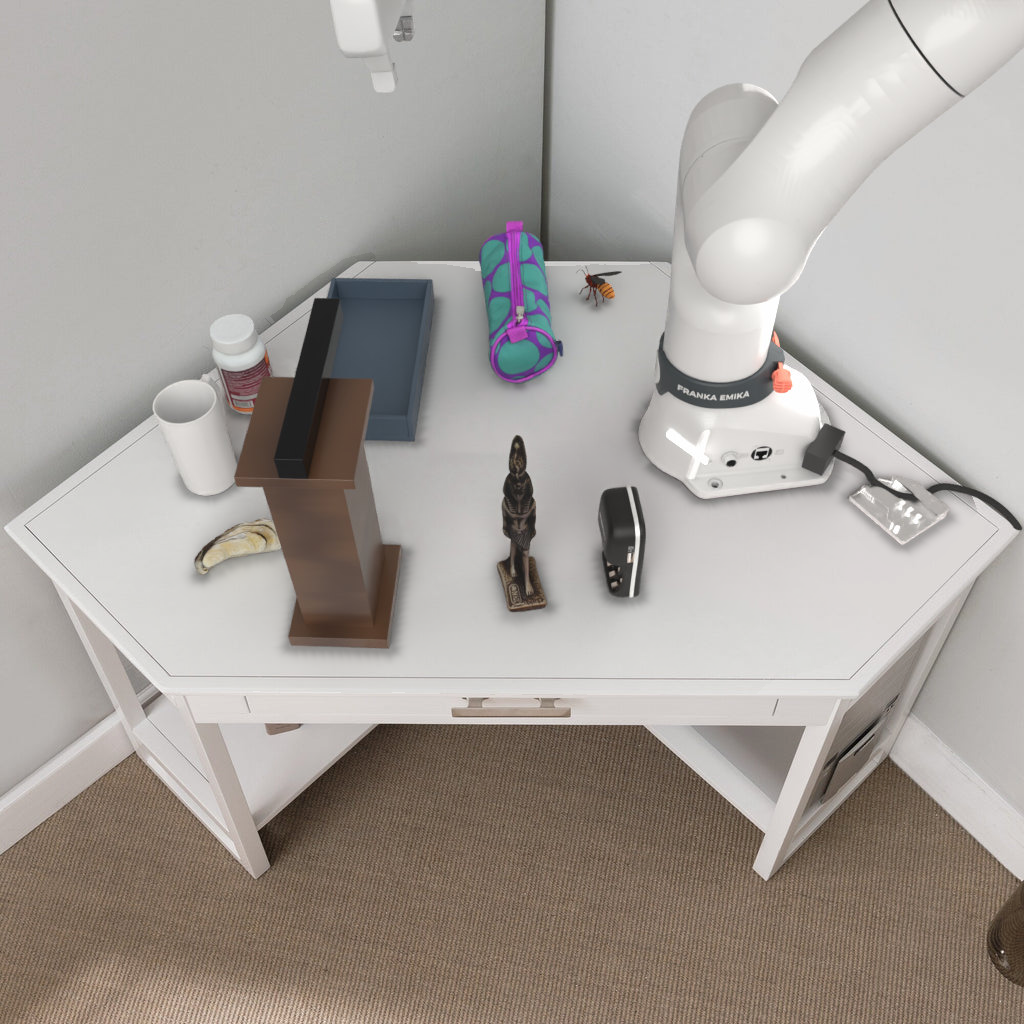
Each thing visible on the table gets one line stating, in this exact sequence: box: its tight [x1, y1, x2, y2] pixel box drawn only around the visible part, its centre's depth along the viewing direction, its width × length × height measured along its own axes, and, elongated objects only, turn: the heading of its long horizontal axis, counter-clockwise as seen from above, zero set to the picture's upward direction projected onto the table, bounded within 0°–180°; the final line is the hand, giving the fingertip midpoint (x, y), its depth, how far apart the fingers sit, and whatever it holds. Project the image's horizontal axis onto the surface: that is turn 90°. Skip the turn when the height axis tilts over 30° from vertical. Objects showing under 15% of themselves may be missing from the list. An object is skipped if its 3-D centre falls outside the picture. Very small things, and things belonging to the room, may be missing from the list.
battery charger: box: [597, 485, 647, 598], centre depth 108 cm, size 7×4×11 cm, turn 6°
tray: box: [326, 277, 436, 442], centre depth 132 cm, size 13×25×4 cm, turn 177°
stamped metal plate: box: [848, 475, 950, 546], centre depth 117 cm, size 8×7×2 cm
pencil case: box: [478, 220, 564, 384], centre depth 134 cm, size 21×9×10 cm, turn 5°
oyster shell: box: [193, 517, 282, 576], centre depth 115 cm, size 6×4×10 cm
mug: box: [152, 373, 238, 497], centre depth 119 cm, size 10×7×12 cm, turn 168°
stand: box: [234, 376, 403, 649], centre depth 102 cm, size 10×12×26 cm
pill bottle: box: [209, 313, 275, 415], centre depth 126 cm, size 6×6×11 cm
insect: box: [575, 266, 623, 307], centre depth 139 cm, size 4×6×5 cm, turn 40°
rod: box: [274, 297, 344, 479], centre depth 93 cm, size 2×20×2 cm, turn 177°
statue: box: [496, 434, 548, 613], centre depth 104 cm, size 4×7×20 cm, turn 13°
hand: (396, 62), depth 90 cm, fingers open, 8 cm apart
